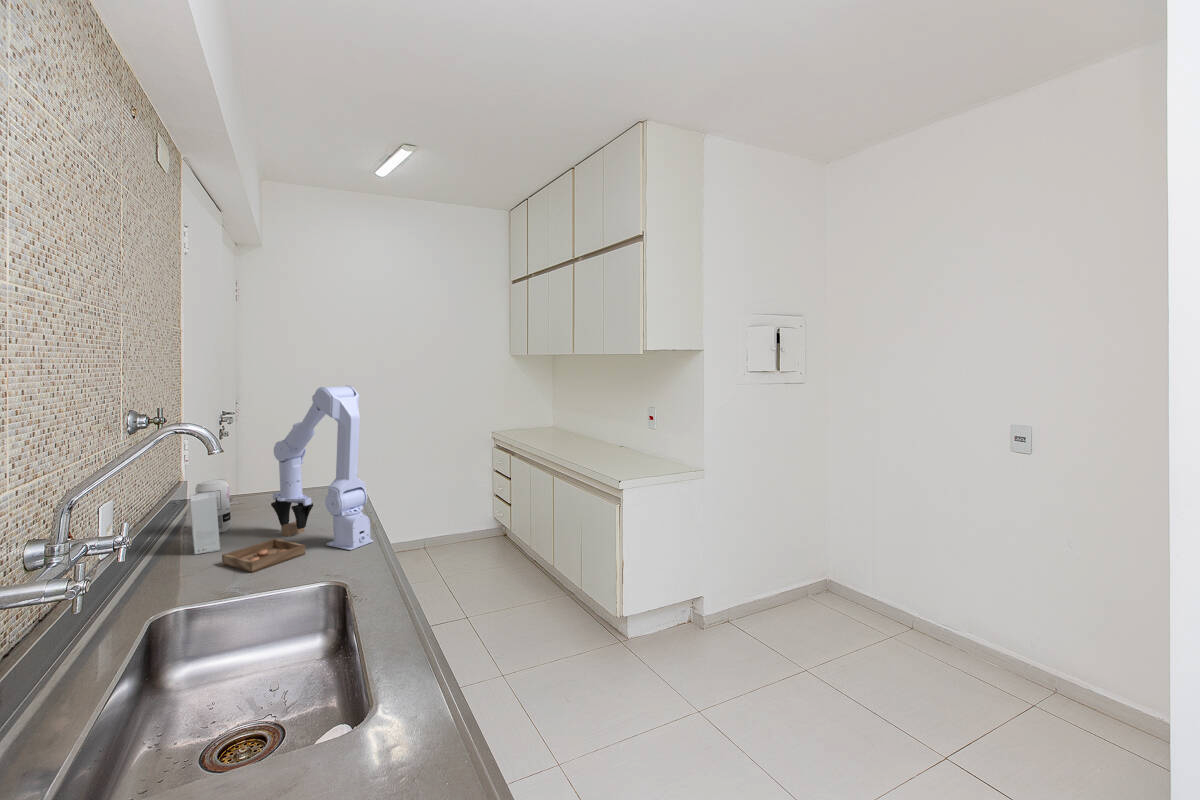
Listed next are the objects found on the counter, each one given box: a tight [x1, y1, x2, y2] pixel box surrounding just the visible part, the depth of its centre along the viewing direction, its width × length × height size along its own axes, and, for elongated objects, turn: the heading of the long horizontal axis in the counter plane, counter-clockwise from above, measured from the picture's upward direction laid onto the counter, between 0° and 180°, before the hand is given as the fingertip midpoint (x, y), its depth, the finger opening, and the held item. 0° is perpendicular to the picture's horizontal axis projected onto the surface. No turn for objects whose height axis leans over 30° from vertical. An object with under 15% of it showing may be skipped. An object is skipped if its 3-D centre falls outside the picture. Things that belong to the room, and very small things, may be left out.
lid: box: [280, 520, 305, 537], centre depth 164 cm, size 13×15×4 cm
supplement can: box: [194, 478, 232, 534], centre depth 165 cm, size 8×8×15 cm
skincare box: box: [189, 492, 221, 555], centre depth 150 cm, size 8×6×15 cm
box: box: [221, 538, 306, 574], centre depth 143 cm, size 12×14×2 cm
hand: (293, 526), depth 164 cm, fingers open, 7 cm apart
